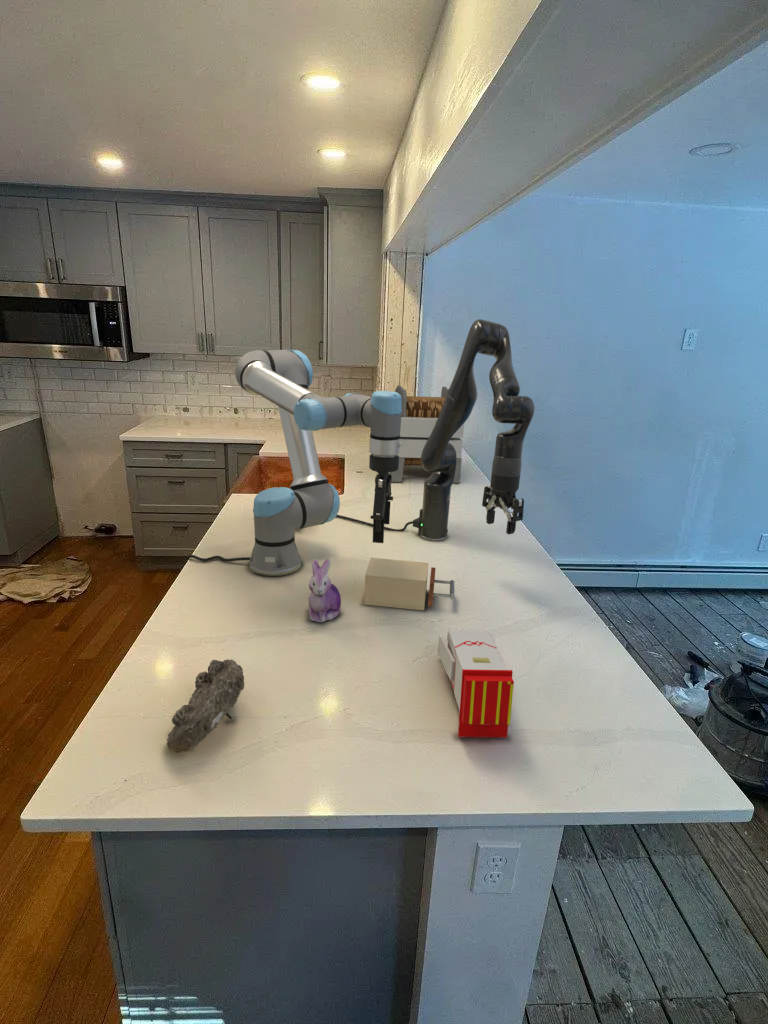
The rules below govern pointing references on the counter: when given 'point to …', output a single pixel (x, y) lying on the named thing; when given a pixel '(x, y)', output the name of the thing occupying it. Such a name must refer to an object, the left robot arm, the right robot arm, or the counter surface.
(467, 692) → the toy
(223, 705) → the fossil
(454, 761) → the counter surface
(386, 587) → the cabinet
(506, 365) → the right robot arm
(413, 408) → the white box
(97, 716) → the counter surface
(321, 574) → the figurine
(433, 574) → the drawer
